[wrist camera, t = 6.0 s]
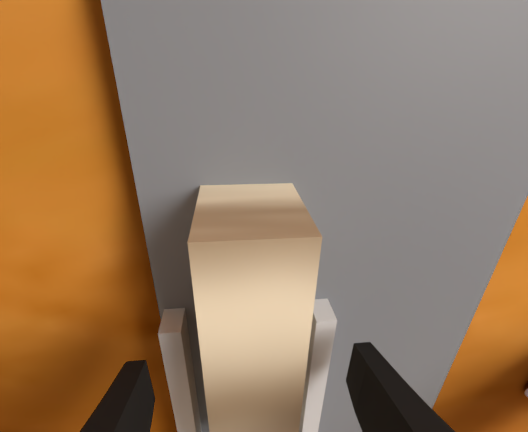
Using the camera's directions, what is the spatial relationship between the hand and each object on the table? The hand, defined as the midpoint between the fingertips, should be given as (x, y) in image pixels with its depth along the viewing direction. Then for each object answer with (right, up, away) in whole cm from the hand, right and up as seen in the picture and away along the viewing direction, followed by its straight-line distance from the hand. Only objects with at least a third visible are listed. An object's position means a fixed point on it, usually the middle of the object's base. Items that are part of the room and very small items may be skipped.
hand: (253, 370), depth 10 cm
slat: (0, +1, +2) cm, 2 cm away
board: (+3, -1, +5) cm, 6 cm away
